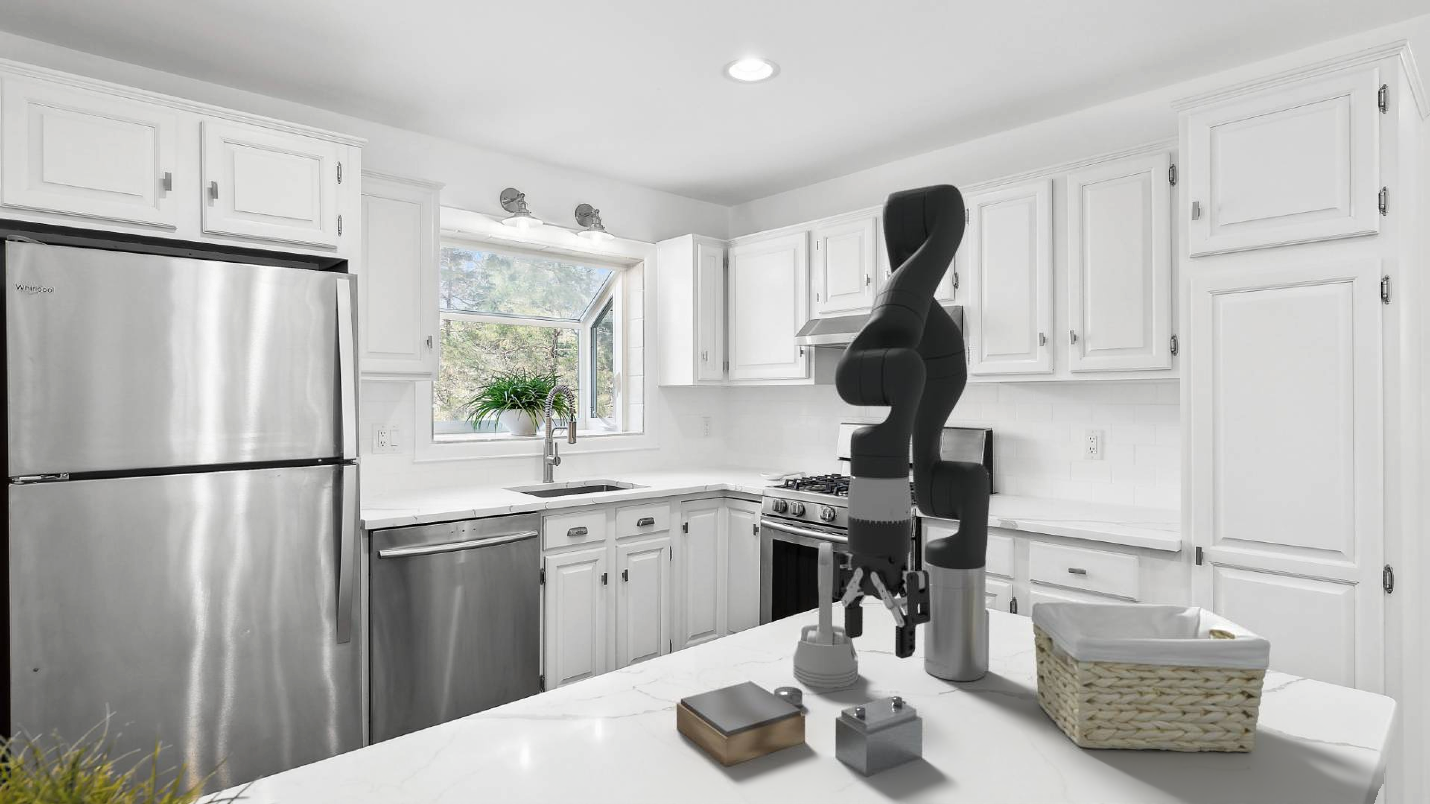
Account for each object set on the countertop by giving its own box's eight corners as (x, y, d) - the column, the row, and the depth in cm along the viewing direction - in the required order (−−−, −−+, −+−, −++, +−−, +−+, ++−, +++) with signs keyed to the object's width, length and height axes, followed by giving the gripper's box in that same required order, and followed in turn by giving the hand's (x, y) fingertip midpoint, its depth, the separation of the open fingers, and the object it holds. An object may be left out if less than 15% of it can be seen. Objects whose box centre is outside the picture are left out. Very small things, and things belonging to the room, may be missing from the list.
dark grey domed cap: (790, 698, 111) (790, 684, 111) (808, 708, 108) (808, 693, 108) (768, 704, 109) (768, 690, 109) (785, 714, 106) (785, 700, 106)
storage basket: (1197, 705, 108) (1198, 601, 108) (1276, 761, 92) (1278, 640, 92) (1025, 702, 109) (1026, 600, 109) (1074, 758, 93) (1075, 638, 93)
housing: (890, 740, 98) (890, 688, 98) (922, 758, 93) (922, 703, 93) (835, 758, 93) (835, 703, 93) (866, 778, 89) (866, 720, 88)
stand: (751, 707, 107) (751, 679, 107) (805, 741, 97) (805, 710, 97) (676, 728, 101) (676, 698, 101) (726, 767, 91) (726, 733, 91)
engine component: (789, 685, 116) (857, 690, 114) (789, 550, 115) (857, 553, 113) (796, 659, 126) (858, 663, 124) (796, 536, 126) (858, 538, 124)
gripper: (946, 519, 89) (945, 658, 89) (861, 503, 101) (860, 626, 101) (900, 525, 85) (899, 670, 85) (817, 507, 97) (816, 635, 97)
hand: (878, 646), depth 93 cm, fingers open, 8 cm apart
